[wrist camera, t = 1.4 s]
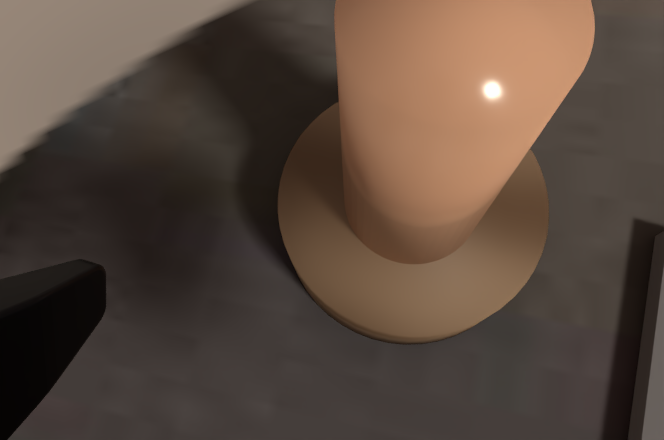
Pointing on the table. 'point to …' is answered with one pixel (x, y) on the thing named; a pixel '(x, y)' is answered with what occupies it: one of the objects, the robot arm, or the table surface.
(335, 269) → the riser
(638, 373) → the mat
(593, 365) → the table surface
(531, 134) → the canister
